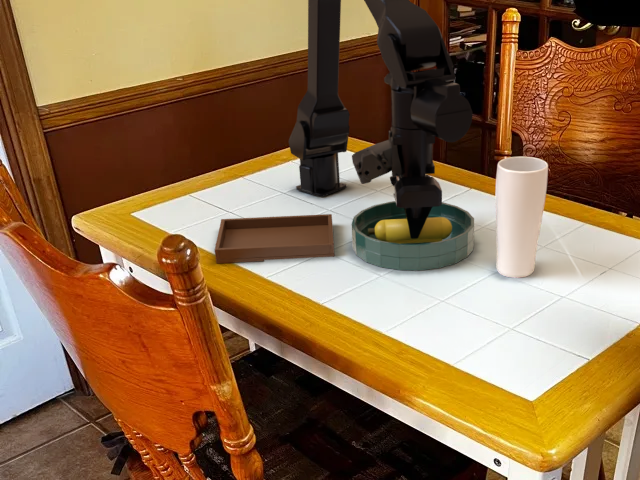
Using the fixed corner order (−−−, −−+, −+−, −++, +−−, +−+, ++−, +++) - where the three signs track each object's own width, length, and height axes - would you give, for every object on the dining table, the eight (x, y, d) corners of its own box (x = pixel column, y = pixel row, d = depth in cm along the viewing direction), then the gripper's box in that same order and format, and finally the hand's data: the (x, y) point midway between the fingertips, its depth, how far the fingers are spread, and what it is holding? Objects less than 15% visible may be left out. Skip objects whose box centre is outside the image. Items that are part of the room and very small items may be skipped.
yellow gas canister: (450, 234, 128) (450, 213, 126) (453, 242, 125) (453, 221, 123) (368, 238, 127) (367, 217, 125) (369, 246, 124) (368, 225, 122)
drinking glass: (543, 265, 121) (553, 158, 112) (533, 284, 116) (543, 174, 106) (497, 259, 123) (503, 153, 113) (485, 278, 117) (491, 169, 108)
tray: (332, 226, 133) (331, 213, 132) (334, 257, 124) (333, 244, 123) (223, 232, 132) (221, 218, 131) (216, 263, 123) (214, 249, 121)
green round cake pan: (405, 216, 137) (405, 191, 134) (496, 243, 127) (498, 217, 125) (328, 251, 126) (326, 225, 123) (422, 283, 117) (422, 255, 114)
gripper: (351, 108, 123) (356, 213, 132) (357, 146, 108) (362, 261, 117) (427, 105, 123) (426, 210, 133) (443, 143, 109) (441, 257, 118)
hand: (413, 233), depth 125 cm, fingers closed on yellow gas canister, 3 cm apart
